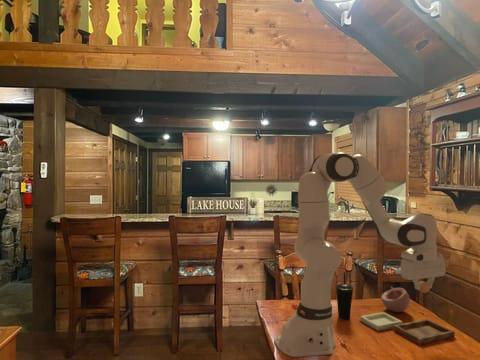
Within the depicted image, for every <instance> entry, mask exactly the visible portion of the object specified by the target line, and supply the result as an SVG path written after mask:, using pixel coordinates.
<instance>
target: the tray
mask: <svg viewBox="0 0 480 360" xmlns="http://www.w3.org/2000/svg"><path fill="white" fill-rule="evenodd" d="M359 319H360V322H362V323H363V324H365V325H367V326H368V327H370V328H371V329H374V330H375V331H377V332H380V331H386V330H390V329H394V325H398V324H403V320H400V319H398V318H397V317H395V316H393V315H391V314H388V313H387V312H385V311H383V312H376V313H371V314H366V315H360V317H359Z"/></svg>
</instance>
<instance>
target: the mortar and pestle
mask: <svg viewBox="0 0 480 360" xmlns="http://www.w3.org/2000/svg"><path fill="white" fill-rule="evenodd" d="M380 299H381V302H382V304H383V306H384V307H385V308H386V309H387V310H389V311H391V312H393V313H402V312H404V311H406V310H407V309H408V307H409V306H410V300H411V299H410V295H409V293H408V292H407V290H406V289H405V288H402V287H393V286H390V289H389V290H386V291H385V292H384V293H382V294H381V297H380Z"/></svg>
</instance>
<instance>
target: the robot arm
mask: <svg viewBox="0 0 480 360" xmlns="http://www.w3.org/2000/svg"><path fill="white" fill-rule="evenodd" d="M298 181H299V182H298V191H297V201H298V202H297V204H298V228H297V229H298V230H297V235H296V236H297V237H296V240H295V242H294V247H293V249H294V252H295V254H296V256H297V257H298V260H300V261H302V262H304V263H305V272H304V275H303V278H302V279H301V282H300V301H299V304H298V305H297V304H296V303H292V304H291V305H290V306H291V309H293V310H294V311H296V313H294V314H293V315H292V316H291V317H290V318H289V319H287V320H286V321H285V322H283V324H282V326H281V330H280V334H279V335H275V337H274V344H275V345H276V347H277V348H278V349H279V350H280V351H281V352H282V353H283V354H285V355H287V356H288V357H291V358H299V357H312V356H313V357H314V356H323V355H332V354H333V349H334V348H335V346H336V341H335V336H334V333H333V325H332V324H333V323H332V317H333V305H332V282H333V278H334V274H335V271H336V270H338V269H339V267H340V265H341V263H342V255H341V253H340V251H339V250H338V248H337V247H336V246H334V244H333V243H331V242H329V241H327V240H325V234H326V229H327V226H328V225H329V223H330V212H329V209H330V208H329V196H328V191H329V186H330V184H331V183H338V182H340V183H342V182H348V183H350V185H351V186H352V187H353V189H354V191H355V192H356V193H357V195H358V197H359V198H360V200H361V202H362V204H363V206H364V208H365V210H366V211H367V213H368V214H369V216H370V218H371V220H372V221H373V223H374V225H375V230H376V233H377V236H378V237H379V238H380V240H381V241H383V242H385V243H391V244H394V245H399V246H400V247H401V246H402V247H409V248H407V249H406V250H404V251H402V252H401V253H400V257H401V258H402V259H401V261H400V276H401V277H402V278H403V279H404V280H408V281H410V280H411V281H412V283H413V284H414V289H415V290H417V291H419V290H421V285H419V282H420V281H421V280H422V279H427V281H426V282H427V283H428V284H429V286H430V289H432V288H433V284H434V282H435V278H437V277H444V276H445V275H446V264H445V263H446V262H445V259H444V255H443V253H441V252H438V245H437V238H438V225H437V220H436V217H435V216H434V215H432V214H429V213H423V212H414V213H413V214H412V215H411V216H410V217H408V218H406V219H403V220H400V219H395V218H393V217H391V216H390V215H389V214H388V213H387V211H386V209H385V207H384V206H383V203H382V202H381V199H383V198H384V196H385V194H386V193H387V190H388V185H387V182H386V181H385V179H384V177H383V176H382V174H381V173H380V171H379V170H378V169H377V167H376V166H375V165H374V164H373V163H372V162H371V161H370V160H369V159H368V157H366V156H365V155H363V154H354V155H350V154H349V153H345V152H339V151H338V152H329V153H328V152H327V153H325V154H321V155H319V156H317V157H316V158H315V159H314V160H313V162H312V163H311V167H310V169H309V171H307V172H305V173H303V174H302V175H301V176H300V178H299V180H298Z"/></svg>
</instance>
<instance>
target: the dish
mask: <svg viewBox="0 0 480 360" xmlns="http://www.w3.org/2000/svg"><path fill="white" fill-rule="evenodd" d="M393 331H394V332H396V333H397V334H400V335H401V336H403V337H404V338H406V339H408V340H410V341H412V342H413V343H415V344H417V345H418V346H422V345H427V344H432V343H435V342H439V341H440V342H441V341H445V340H448V339H449V338H450V339H454V338H455V337H456V336H455V335H456V334H455V331H454V330H452V329H450V328H447V327H445V326H443V325H441V324H439V323H438V322H437V323H436V322H435V321H433V320H430V319H429V318H426V319H420V320H415V321H414V320H413V321H409V322H404V323H402V324H398V325H394V328H393ZM450 339H449V340H450Z"/></svg>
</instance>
